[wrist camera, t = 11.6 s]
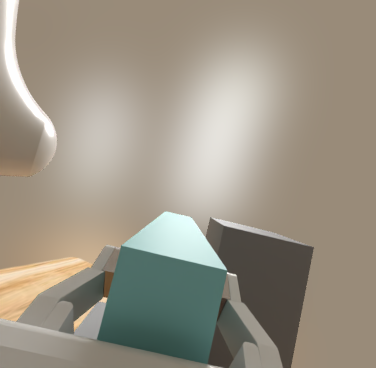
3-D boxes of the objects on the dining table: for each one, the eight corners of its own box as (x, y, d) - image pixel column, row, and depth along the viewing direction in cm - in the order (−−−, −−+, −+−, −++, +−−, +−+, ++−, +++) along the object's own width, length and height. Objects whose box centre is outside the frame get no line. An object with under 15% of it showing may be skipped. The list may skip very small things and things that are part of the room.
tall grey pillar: (379, 860, 11) (456, 299, 13) (-101, 776, 10) (63, 205, 13) (238, 394, 37) (272, 232, 39) (99, 363, 36) (141, 200, 38)
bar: (203, 384, 7) (227, 270, 8) (91, 359, 7) (121, 245, 8) (185, 243, 31) (191, 217, 32) (159, 237, 31) (165, 211, 32)
